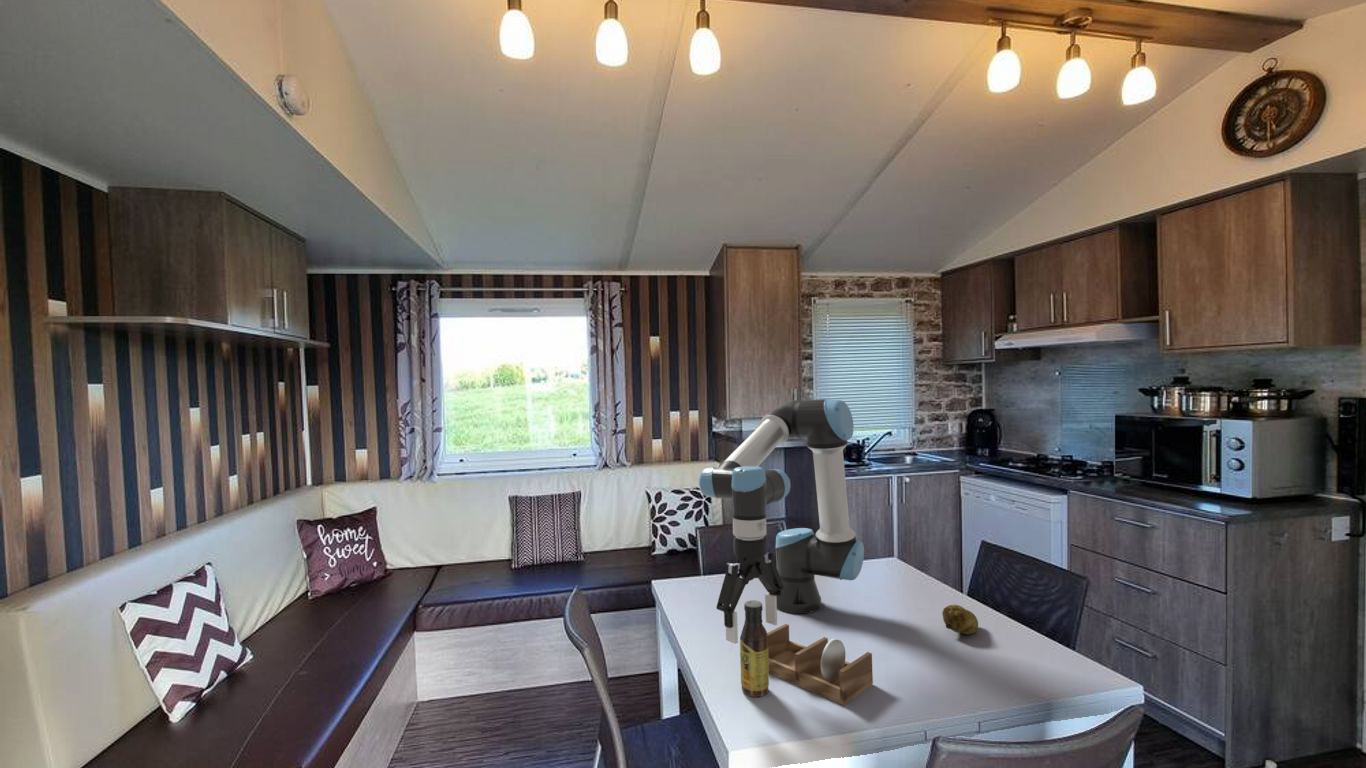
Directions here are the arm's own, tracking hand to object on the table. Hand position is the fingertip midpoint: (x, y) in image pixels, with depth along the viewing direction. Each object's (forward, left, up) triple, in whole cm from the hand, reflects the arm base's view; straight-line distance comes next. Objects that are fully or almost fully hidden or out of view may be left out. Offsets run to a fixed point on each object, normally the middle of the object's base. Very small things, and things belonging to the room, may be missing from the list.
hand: (752, 632), depth 126 cm
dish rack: (+5, +15, -14) cm, 21 cm away
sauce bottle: (0, +1, -14) cm, 14 cm away
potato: (+21, +62, -14) cm, 67 cm away
